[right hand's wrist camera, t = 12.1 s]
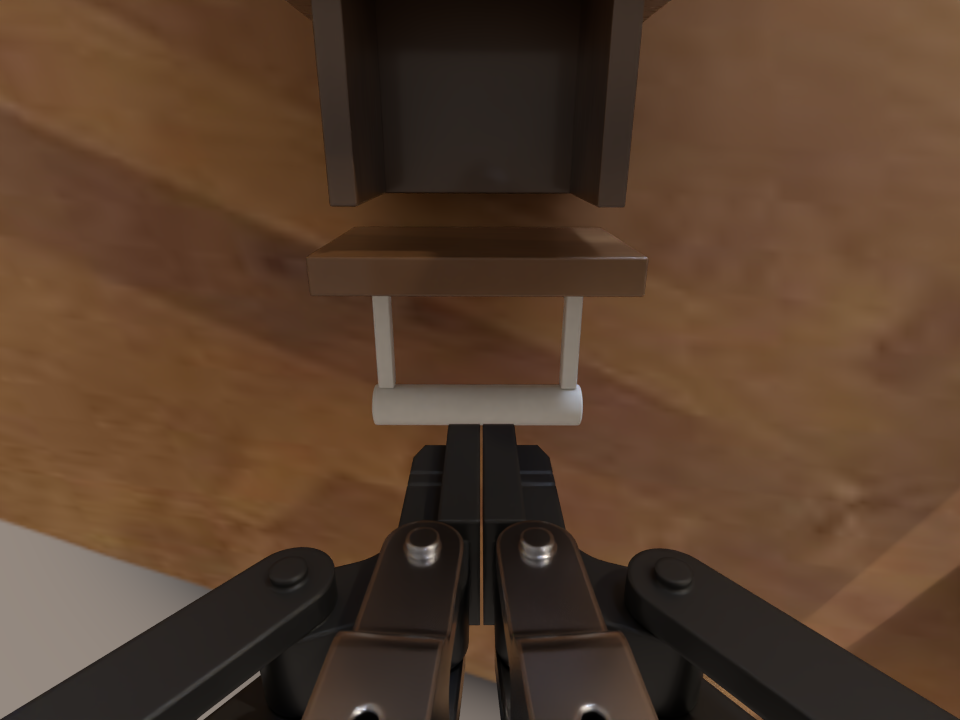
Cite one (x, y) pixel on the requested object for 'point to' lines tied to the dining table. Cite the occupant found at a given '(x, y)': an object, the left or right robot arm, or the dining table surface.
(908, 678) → the dining table surface
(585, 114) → the drawer
